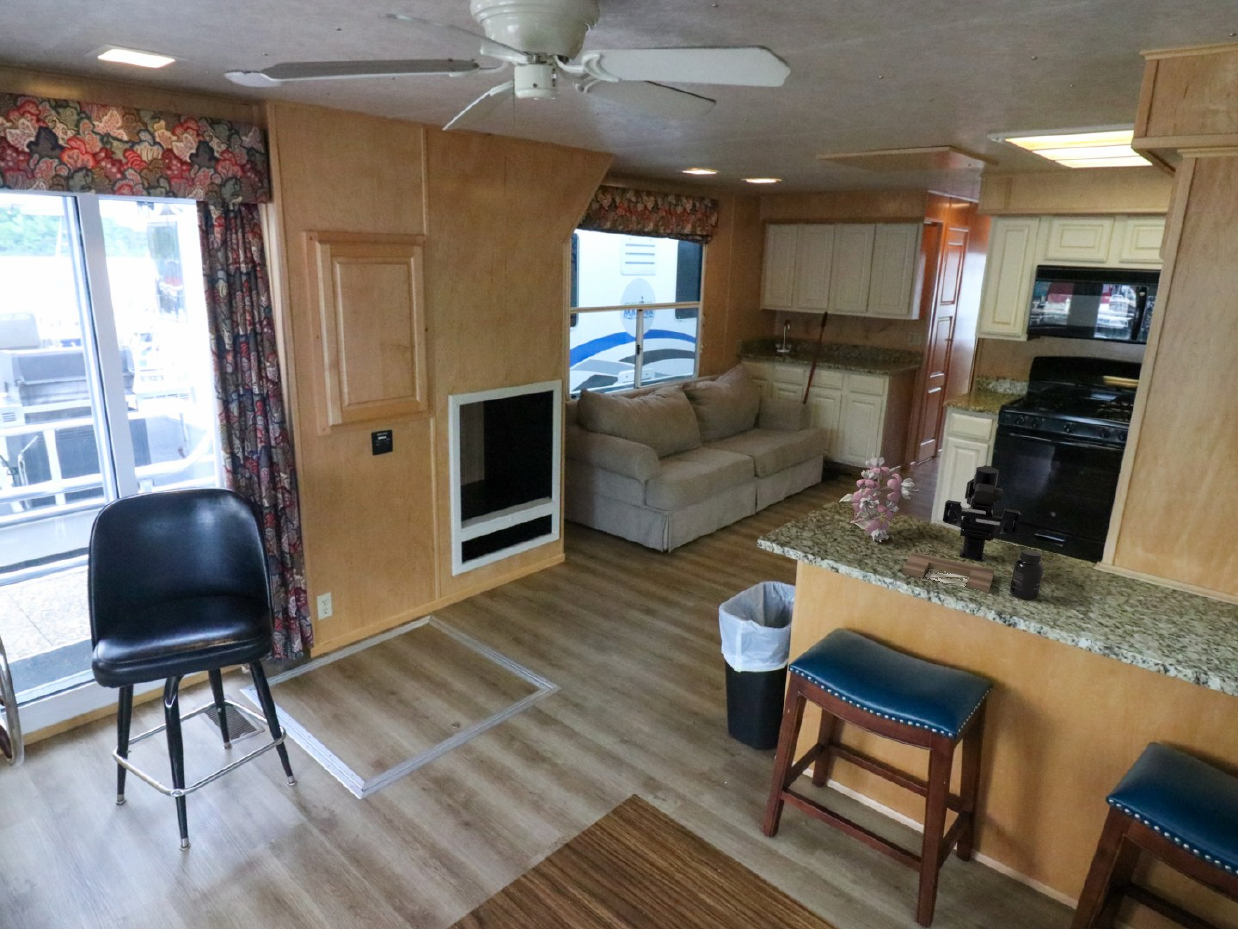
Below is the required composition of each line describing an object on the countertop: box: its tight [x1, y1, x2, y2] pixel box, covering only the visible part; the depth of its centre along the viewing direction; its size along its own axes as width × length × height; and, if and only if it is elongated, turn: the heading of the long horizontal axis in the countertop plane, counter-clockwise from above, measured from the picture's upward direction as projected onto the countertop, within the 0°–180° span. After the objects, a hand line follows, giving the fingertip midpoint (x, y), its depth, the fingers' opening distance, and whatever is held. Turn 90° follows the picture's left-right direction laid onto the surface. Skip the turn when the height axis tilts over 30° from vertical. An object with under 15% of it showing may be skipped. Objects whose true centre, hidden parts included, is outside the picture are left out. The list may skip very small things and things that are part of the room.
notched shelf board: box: [901, 551, 996, 594], centre depth 214 cm, size 14×22×2 cm, turn 60°
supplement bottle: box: [1009, 549, 1044, 601], centre depth 201 cm, size 7×7×12 cm
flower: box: [838, 452, 920, 543], centre depth 243 cm, size 20×22×25 cm
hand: (979, 529), depth 203 cm, fingers open, 9 cm apart
